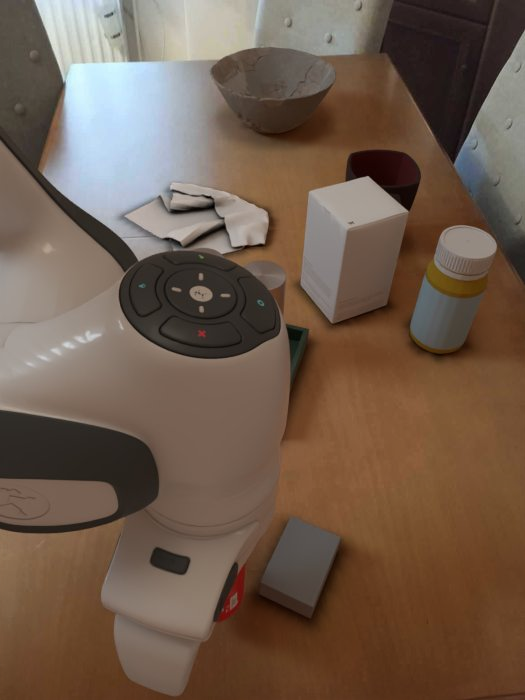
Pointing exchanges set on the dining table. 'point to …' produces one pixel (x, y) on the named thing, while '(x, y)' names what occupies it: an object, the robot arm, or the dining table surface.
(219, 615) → the robot arm
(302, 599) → the grey block right
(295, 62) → the ceramic bowl
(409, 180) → the cup
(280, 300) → the silver cans
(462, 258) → the bottle
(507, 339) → the dining table surface
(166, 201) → the cloth
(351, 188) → the rectangular carton
